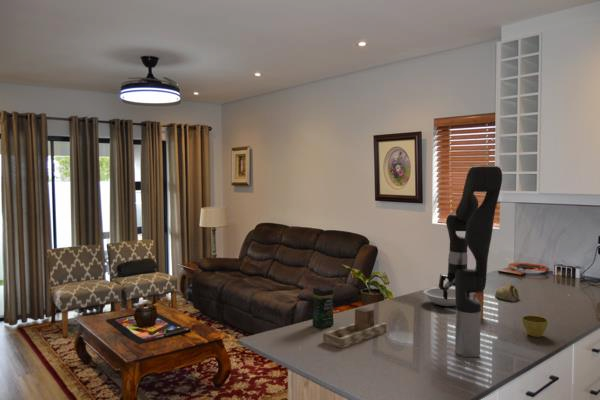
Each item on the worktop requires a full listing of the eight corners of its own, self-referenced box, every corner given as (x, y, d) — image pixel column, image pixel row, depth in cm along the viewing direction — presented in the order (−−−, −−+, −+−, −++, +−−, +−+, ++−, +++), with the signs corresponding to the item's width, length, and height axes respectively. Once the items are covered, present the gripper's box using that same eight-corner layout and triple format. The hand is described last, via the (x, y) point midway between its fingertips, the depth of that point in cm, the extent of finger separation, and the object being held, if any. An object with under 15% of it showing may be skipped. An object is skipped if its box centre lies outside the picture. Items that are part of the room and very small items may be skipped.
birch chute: (368, 326, 218) (368, 318, 218) (386, 331, 210) (386, 323, 210) (323, 342, 197) (323, 333, 197) (341, 348, 190) (341, 339, 190)
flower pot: (516, 332, 209) (516, 316, 208) (533, 330, 212) (534, 314, 212) (535, 340, 199) (535, 323, 199) (552, 337, 203) (553, 320, 202)
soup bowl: (479, 308, 248) (479, 295, 247) (442, 313, 239) (442, 300, 238) (449, 297, 270) (449, 285, 270) (414, 301, 261) (414, 289, 261)
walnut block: (363, 327, 212) (363, 306, 212) (374, 331, 208) (374, 309, 207) (354, 330, 208) (354, 309, 208) (365, 334, 204) (365, 312, 203)
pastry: (522, 302, 259) (522, 288, 259) (498, 301, 261) (498, 287, 261) (514, 295, 273) (515, 282, 273) (492, 295, 275) (492, 281, 275)
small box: (473, 320, 227) (473, 293, 227) (462, 316, 233) (462, 290, 232) (483, 317, 232) (484, 291, 231) (472, 314, 237) (473, 288, 236)
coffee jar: (320, 329, 214) (320, 289, 213) (309, 325, 220) (309, 285, 219) (336, 325, 219) (336, 286, 218) (326, 321, 226) (326, 283, 225)
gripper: (442, 263, 193) (441, 302, 194) (478, 264, 192) (476, 302, 194) (438, 259, 200) (436, 296, 202) (472, 259, 199) (470, 297, 201)
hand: (456, 299), depth 198 cm, fingers open, 8 cm apart
